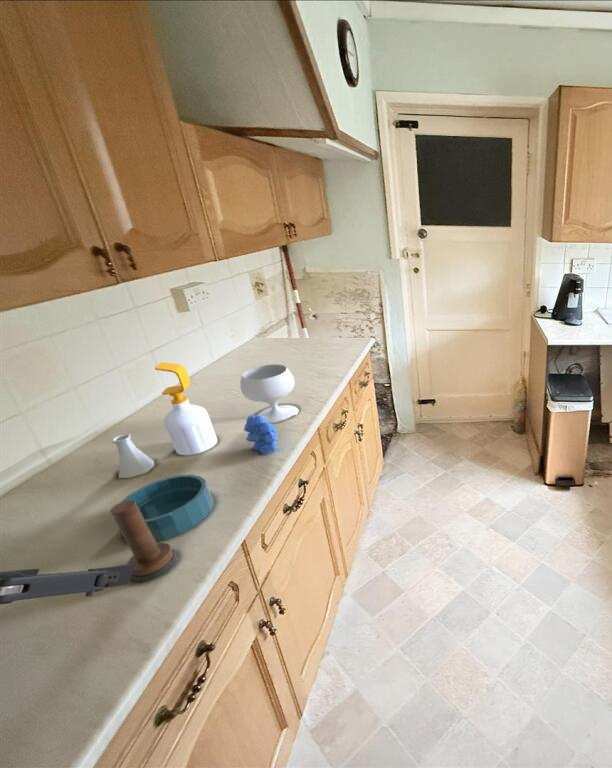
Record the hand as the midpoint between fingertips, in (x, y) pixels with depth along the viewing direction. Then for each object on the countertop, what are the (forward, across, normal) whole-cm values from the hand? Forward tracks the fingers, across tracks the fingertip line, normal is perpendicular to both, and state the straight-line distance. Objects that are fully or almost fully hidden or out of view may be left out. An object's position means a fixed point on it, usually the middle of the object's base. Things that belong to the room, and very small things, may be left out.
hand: (81, 576), depth 60 cm
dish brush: (+13, +1, 0) cm, 13 cm away
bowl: (+23, -5, +9) cm, 25 cm away
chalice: (+54, -4, +40) cm, 67 cm away
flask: (+35, -25, +21) cm, 48 cm away
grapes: (+40, +3, +26) cm, 48 cm away
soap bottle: (+42, -17, +28) cm, 53 cm away
